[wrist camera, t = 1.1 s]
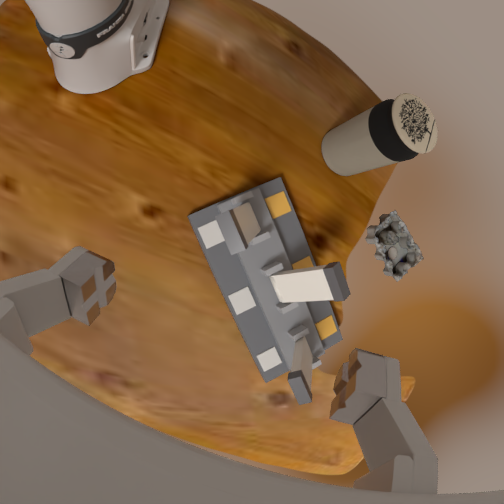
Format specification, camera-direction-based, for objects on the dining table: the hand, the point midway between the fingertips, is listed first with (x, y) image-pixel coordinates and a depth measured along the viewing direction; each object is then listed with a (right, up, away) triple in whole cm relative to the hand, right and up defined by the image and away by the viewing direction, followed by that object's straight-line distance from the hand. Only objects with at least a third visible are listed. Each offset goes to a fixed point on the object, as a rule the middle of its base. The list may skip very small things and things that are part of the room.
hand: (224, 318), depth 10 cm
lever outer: (+8, -12, +35) cm, 38 cm away
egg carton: (+24, +3, +42) cm, 49 cm away
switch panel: (+4, -2, +37) cm, 37 cm away
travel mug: (+15, +18, +39) cm, 45 cm away
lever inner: (+1, +6, +32) cm, 32 cm away
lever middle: (+4, -3, +33) cm, 34 cm away
